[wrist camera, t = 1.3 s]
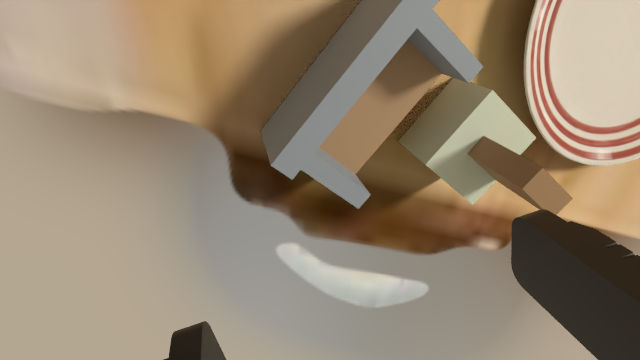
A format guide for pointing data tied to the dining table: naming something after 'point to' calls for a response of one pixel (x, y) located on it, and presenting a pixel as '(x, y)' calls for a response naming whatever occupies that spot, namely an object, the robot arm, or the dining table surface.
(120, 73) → the dining table surface
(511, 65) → the dining table surface
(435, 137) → the green and brown blocks
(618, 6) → the dinner plate
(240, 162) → the dining table surface
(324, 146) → the board
